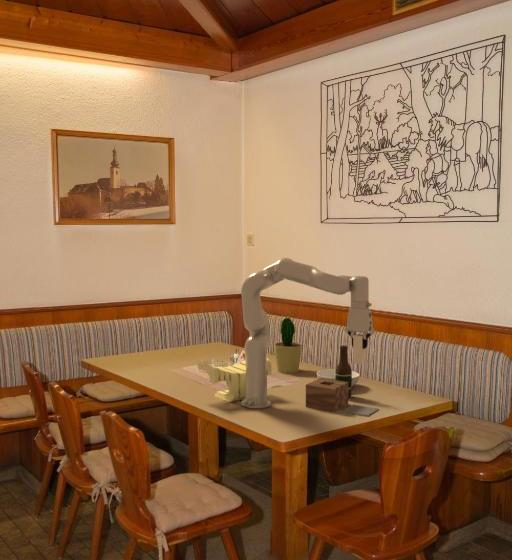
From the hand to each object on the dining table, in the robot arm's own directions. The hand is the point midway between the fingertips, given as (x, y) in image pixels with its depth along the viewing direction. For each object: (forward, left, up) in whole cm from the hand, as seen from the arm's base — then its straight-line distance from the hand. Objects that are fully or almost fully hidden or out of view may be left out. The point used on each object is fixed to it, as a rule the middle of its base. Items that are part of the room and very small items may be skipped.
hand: (359, 347), depth 281 cm
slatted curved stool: (-11, +57, -28) cm, 65 cm away
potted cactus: (+49, +63, -28) cm, 85 cm away
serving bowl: (+32, +25, -28) cm, 49 cm away
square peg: (0, 0, -7) cm, 7 cm away
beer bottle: (+17, +15, -28) cm, 36 cm away
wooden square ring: (0, +15, -28) cm, 32 cm away
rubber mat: (0, -1, -28) cm, 28 cm away
